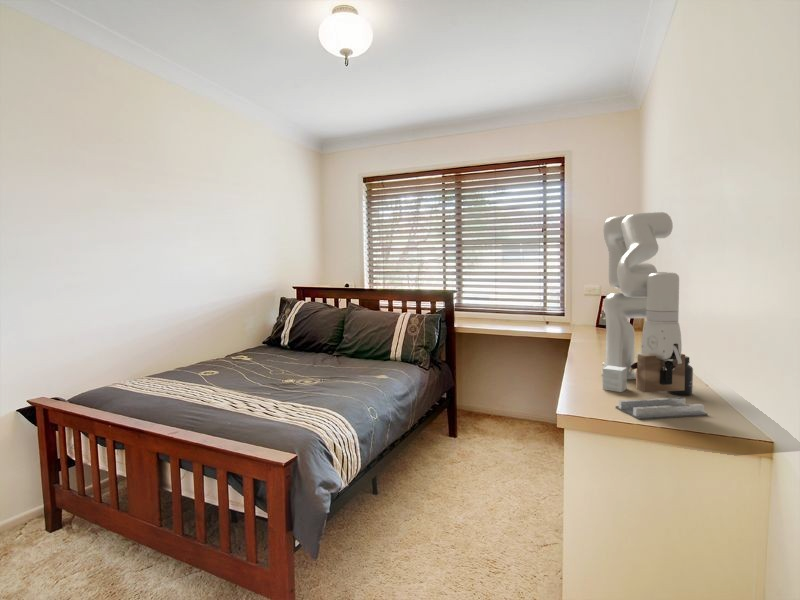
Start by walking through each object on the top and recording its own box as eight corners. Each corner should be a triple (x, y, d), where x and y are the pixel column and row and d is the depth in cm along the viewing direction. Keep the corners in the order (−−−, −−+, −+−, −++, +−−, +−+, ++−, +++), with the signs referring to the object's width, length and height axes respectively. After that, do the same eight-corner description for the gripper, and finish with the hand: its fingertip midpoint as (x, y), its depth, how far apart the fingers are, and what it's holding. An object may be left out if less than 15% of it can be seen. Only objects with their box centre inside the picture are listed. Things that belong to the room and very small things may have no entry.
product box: (627, 388, 138) (627, 367, 138) (621, 392, 134) (622, 370, 133) (607, 385, 142) (608, 365, 142) (601, 389, 138) (602, 368, 137)
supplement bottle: (696, 396, 128) (697, 358, 127) (672, 395, 129) (673, 358, 129) (686, 390, 135) (687, 354, 134) (663, 390, 136) (663, 354, 135)
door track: (615, 407, 119) (615, 399, 119) (678, 404, 121) (678, 395, 121) (639, 419, 109) (639, 410, 109) (707, 415, 111) (707, 406, 111)
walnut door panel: (637, 389, 115) (637, 354, 115) (676, 387, 117) (676, 352, 116) (644, 392, 112) (645, 356, 112) (684, 390, 114) (685, 354, 113)
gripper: (629, 314, 121) (628, 376, 122) (672, 320, 105) (671, 391, 106) (653, 314, 122) (652, 375, 123) (699, 319, 106) (697, 389, 107)
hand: (660, 381), depth 114 cm, fingers closed on walnut door panel, 3 cm apart
